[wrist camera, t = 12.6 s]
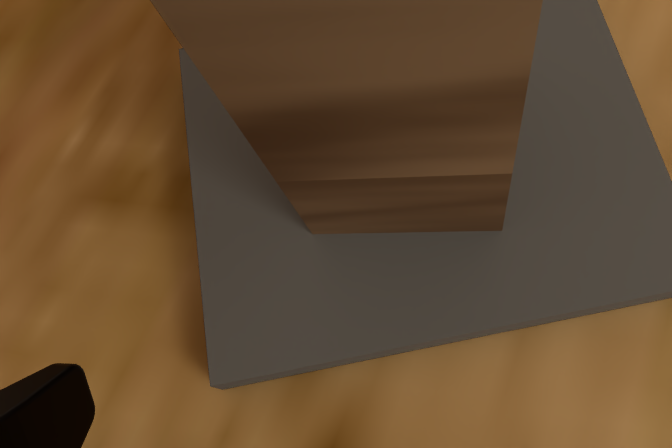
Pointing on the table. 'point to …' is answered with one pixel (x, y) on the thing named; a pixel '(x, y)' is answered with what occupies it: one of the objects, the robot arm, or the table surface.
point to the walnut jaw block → (372, 102)
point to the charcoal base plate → (438, 247)
